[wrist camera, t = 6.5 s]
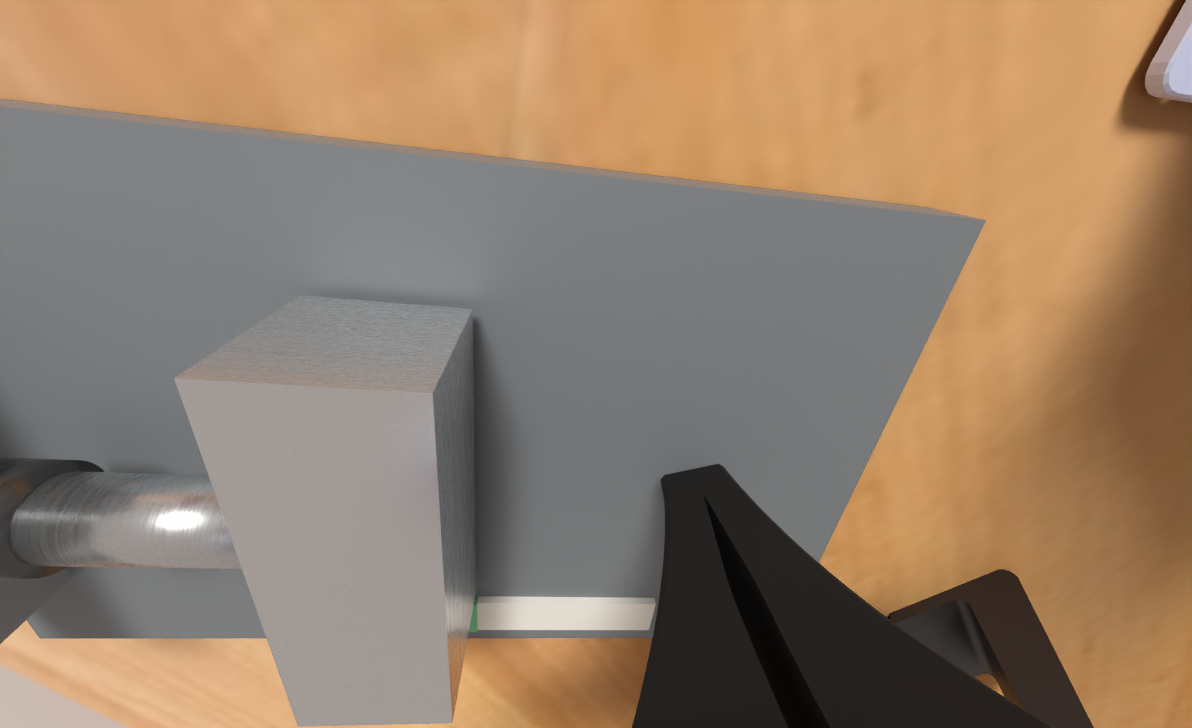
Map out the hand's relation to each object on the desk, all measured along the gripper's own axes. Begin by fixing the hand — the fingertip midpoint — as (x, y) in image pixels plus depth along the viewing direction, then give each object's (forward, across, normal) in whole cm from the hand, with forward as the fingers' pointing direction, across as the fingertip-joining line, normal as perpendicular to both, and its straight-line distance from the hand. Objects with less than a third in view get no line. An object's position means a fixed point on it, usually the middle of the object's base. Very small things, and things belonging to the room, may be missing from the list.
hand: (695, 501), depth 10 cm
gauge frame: (+2, +6, -2) cm, 6 cm away
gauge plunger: (+1, +9, -2) cm, 9 cm away
